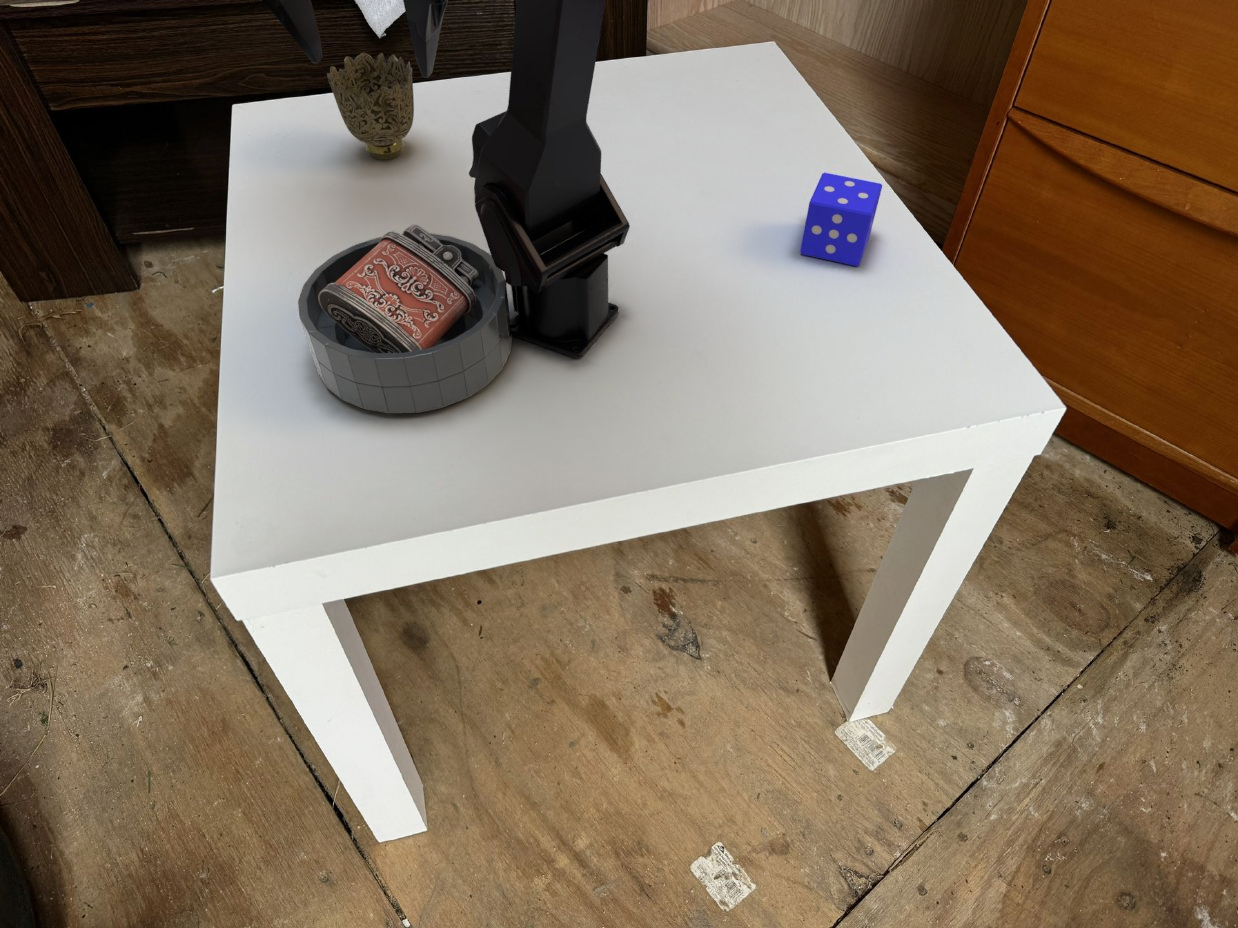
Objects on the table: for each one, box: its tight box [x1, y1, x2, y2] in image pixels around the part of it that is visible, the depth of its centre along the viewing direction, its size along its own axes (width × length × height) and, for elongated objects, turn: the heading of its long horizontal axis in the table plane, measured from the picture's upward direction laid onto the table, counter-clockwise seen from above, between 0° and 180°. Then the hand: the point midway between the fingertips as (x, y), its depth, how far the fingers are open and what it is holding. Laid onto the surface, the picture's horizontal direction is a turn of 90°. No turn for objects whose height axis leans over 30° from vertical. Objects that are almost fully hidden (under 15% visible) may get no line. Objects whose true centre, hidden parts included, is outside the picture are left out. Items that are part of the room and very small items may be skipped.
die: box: [799, 172, 883, 267], centre depth 73 cm, size 5×5×5 cm
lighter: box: [318, 223, 479, 353], centre depth 63 cm, size 8×3×10 cm
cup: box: [326, 51, 415, 160], centre depth 82 cm, size 8×7×8 cm
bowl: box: [297, 232, 513, 414], centre depth 64 cm, size 14×14×6 cm
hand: (372, 68), depth 68 cm, fingers open, 9 cm apart
